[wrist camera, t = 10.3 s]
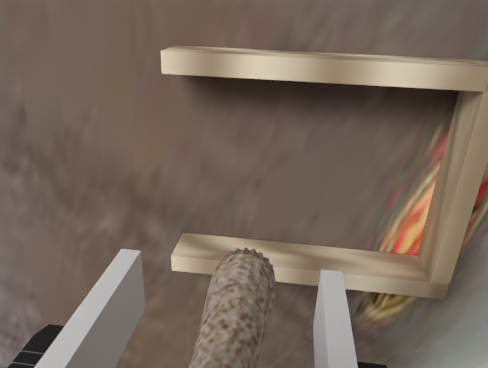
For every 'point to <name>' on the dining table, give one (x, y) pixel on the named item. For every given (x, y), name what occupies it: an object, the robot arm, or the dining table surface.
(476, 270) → the dining table surface
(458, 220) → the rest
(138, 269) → the robot arm
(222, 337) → the mushroom
